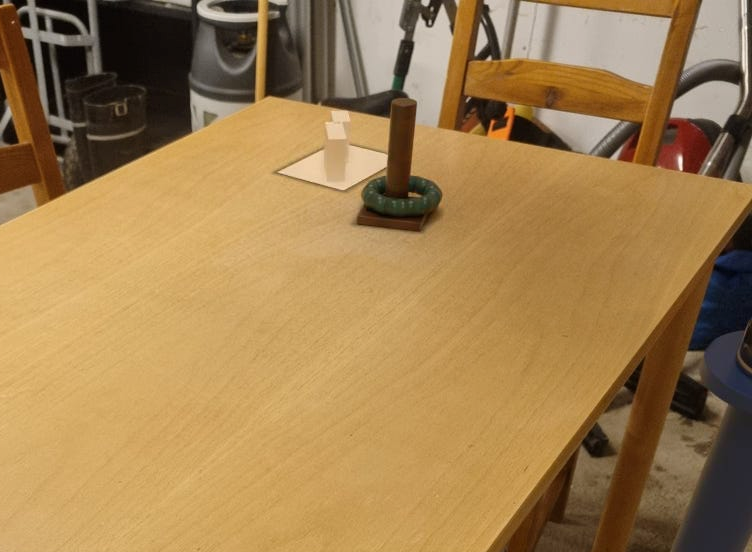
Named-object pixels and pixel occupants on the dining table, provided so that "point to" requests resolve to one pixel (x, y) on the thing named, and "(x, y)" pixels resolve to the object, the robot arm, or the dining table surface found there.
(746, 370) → the robot arm
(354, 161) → the napkin holder
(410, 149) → the post
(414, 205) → the ring
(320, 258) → the dining table surface
